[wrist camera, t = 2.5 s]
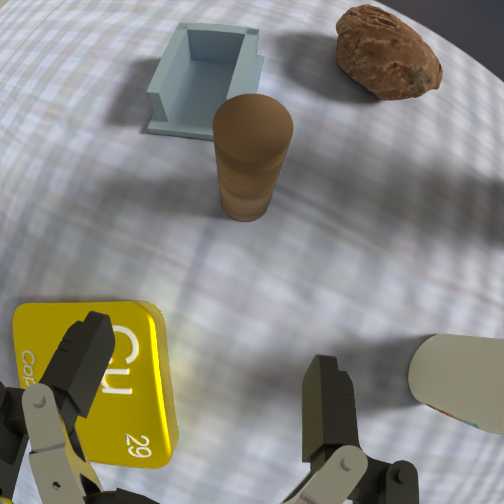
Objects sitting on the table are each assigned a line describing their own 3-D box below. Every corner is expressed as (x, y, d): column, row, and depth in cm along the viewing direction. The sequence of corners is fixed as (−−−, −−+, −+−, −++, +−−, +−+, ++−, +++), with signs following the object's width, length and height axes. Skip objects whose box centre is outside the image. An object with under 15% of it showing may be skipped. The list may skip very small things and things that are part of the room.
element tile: (33, 303, 27) (6, 302, 22) (164, 300, 28) (151, 299, 23) (53, 437, 24) (31, 452, 20) (182, 450, 25) (174, 474, 21)
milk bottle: (392, 385, 27) (547, 452, 7) (429, 319, 28) (596, 320, 8) (437, 412, 26) (573, 470, 7) (469, 352, 28) (614, 367, 8)
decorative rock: (429, 112, 32) (471, 69, 22) (363, 127, 31) (401, 72, 21) (378, 40, 34) (403, -8, 24) (310, 46, 33) (327, -13, 23)
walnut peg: (248, 168, 29) (257, 82, 17) (278, 202, 29) (309, 130, 16) (211, 196, 29) (196, 120, 16) (242, 231, 28) (248, 175, 16)
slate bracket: (181, 53, 32) (174, 18, 26) (263, 61, 32) (268, 25, 26) (149, 133, 30) (134, 100, 24) (245, 145, 30) (247, 111, 24)
